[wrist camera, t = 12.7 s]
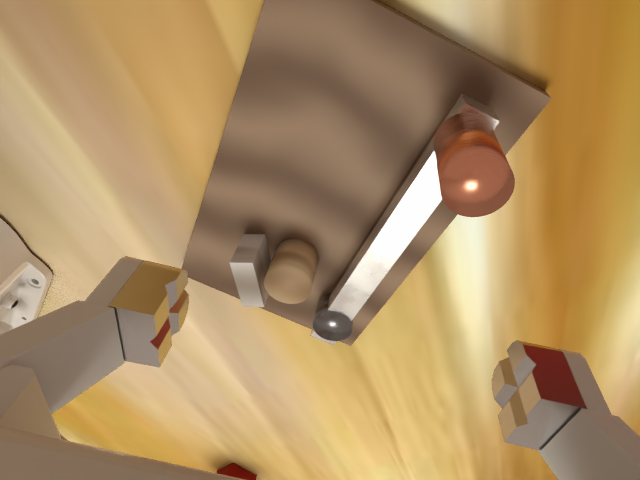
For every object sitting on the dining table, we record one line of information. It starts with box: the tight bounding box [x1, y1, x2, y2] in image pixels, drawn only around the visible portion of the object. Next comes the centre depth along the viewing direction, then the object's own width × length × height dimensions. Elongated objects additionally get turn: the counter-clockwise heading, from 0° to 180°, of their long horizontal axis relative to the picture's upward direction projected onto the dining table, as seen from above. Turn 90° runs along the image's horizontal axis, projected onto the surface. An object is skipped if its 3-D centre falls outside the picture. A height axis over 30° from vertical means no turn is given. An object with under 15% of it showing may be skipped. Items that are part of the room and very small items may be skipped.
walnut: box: [264, 239, 319, 304], centre depth 36 cm, size 4×4×4 cm
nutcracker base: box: [182, 0, 551, 346], centre depth 33 cm, size 29×19×6 cm, turn 156°
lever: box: [311, 94, 515, 345], centre depth 31 cm, size 24×4×8 cm, turn 157°
